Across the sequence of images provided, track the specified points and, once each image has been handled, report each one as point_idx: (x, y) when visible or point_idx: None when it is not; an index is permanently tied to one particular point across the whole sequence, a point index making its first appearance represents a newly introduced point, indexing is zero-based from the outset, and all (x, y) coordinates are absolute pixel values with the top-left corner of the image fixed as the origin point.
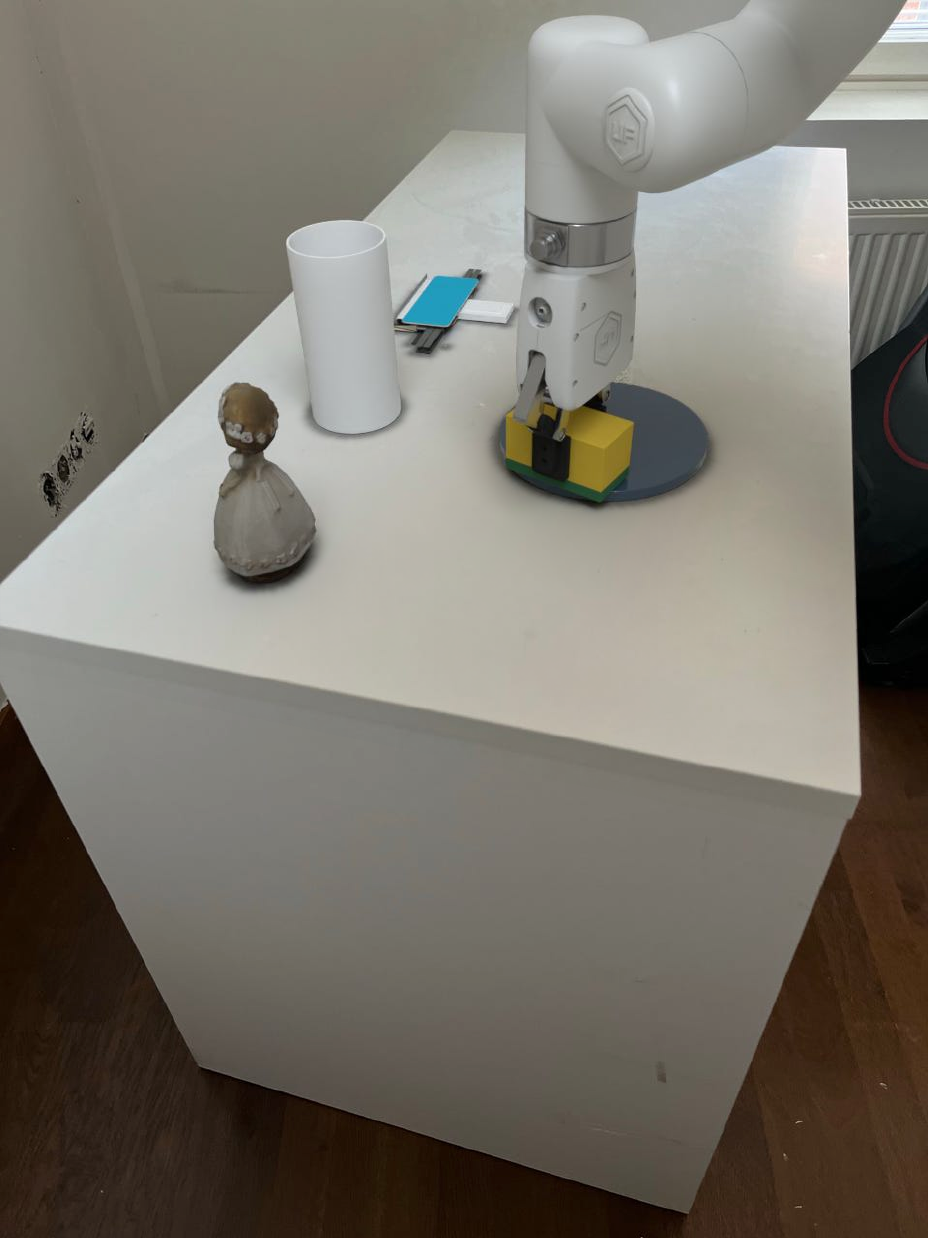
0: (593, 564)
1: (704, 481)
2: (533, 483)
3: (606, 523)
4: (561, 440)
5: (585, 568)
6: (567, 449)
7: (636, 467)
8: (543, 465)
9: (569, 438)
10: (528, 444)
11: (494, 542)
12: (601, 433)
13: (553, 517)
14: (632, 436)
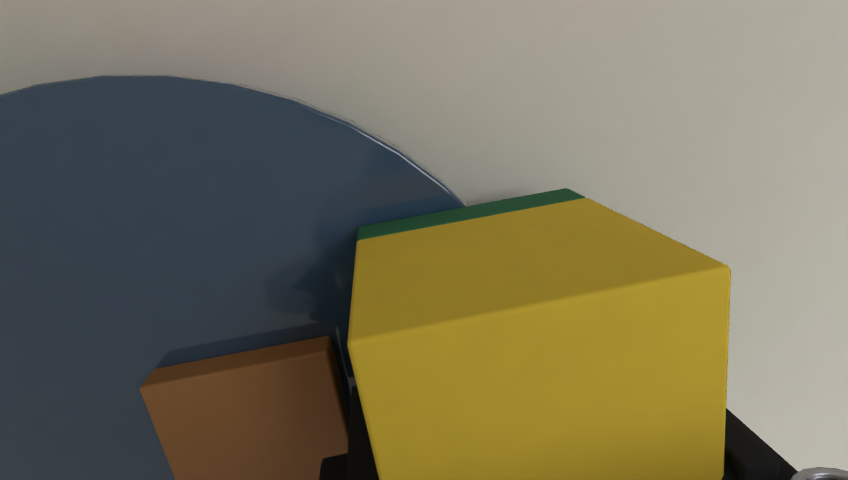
0: (770, 19)
1: (95, 21)
2: None
3: (566, 132)
4: (823, 471)
5: (800, 25)
6: (730, 416)
7: (281, 245)
8: None
9: (755, 461)
10: None
11: (820, 304)
12: (600, 386)
13: None
14: (150, 378)
